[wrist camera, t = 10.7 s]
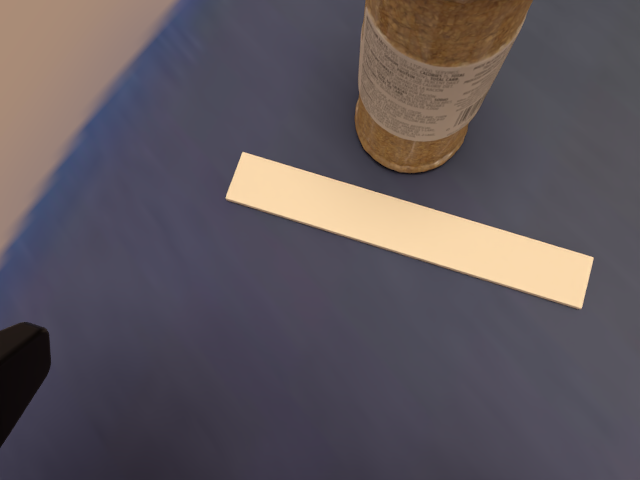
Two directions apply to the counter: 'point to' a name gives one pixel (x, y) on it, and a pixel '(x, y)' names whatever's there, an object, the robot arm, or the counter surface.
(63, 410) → the counter surface
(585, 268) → the thin cream strip
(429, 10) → the sprinkles bottle
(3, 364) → the robot arm
